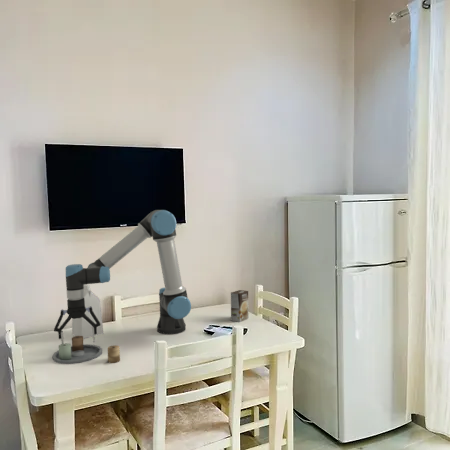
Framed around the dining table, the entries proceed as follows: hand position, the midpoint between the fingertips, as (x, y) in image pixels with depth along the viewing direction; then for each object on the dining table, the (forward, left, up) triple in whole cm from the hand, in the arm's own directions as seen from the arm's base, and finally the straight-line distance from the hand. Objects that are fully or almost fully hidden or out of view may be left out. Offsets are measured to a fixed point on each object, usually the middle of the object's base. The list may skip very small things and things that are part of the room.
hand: (78, 343), depth 198 cm
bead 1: (0, +11, -3) cm, 11 cm away
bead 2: (0, 0, -3) cm, 3 cm away
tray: (-3, +5, -4) cm, 7 cm away
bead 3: (-22, +8, -4) cm, 24 cm away
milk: (+9, -25, -4) cm, 27 cm away
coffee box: (-66, -61, -4) cm, 89 cm away
